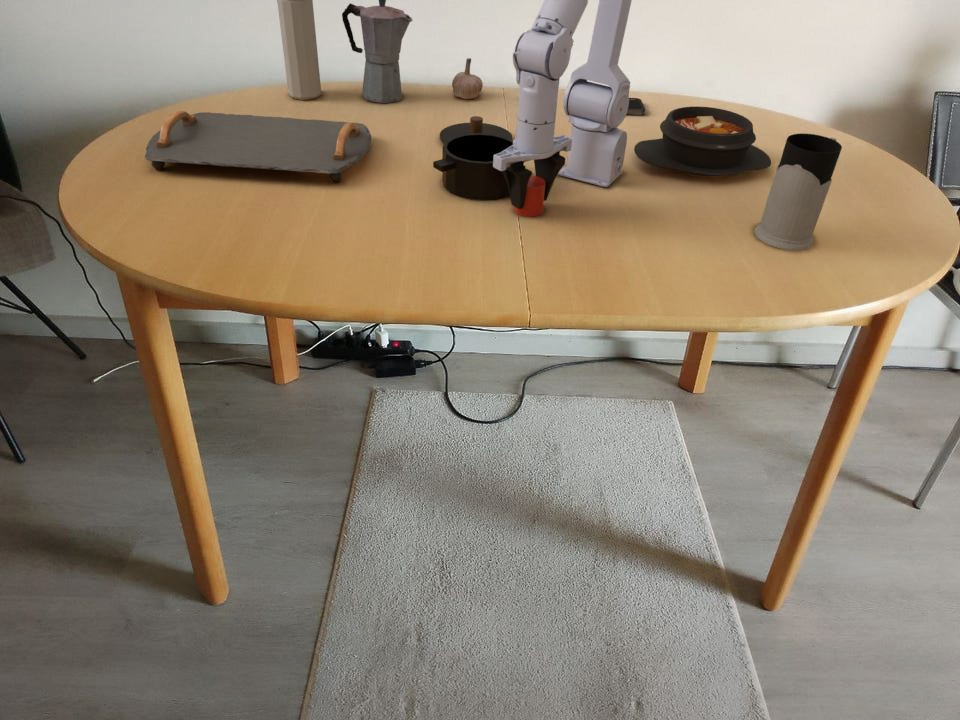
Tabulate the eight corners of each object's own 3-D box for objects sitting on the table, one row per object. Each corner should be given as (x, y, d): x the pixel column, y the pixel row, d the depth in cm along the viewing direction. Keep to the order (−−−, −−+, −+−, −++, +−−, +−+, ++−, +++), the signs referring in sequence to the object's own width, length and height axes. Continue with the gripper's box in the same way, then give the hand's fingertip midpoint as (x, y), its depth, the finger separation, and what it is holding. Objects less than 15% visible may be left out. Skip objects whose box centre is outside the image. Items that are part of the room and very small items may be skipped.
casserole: (643, 184, 127) (652, 137, 122) (623, 143, 142) (630, 100, 136) (783, 187, 128) (798, 140, 123) (749, 146, 143) (761, 104, 138)
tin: (547, 208, 118) (550, 179, 115) (534, 219, 115) (537, 190, 112) (522, 201, 120) (524, 172, 117) (509, 212, 116) (511, 182, 113)
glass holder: (744, 235, 113) (772, 142, 104) (783, 208, 121) (812, 118, 112) (799, 256, 108) (832, 159, 99) (835, 225, 117) (869, 134, 108)
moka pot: (408, 107, 153) (405, 4, 141) (339, 100, 156) (330, -2, 143) (420, 93, 161) (418, -6, 149) (353, 87, 163) (347, -12, 151)
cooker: (545, 184, 125) (549, 148, 121) (461, 211, 116) (462, 173, 112) (497, 159, 133) (499, 125, 129) (415, 183, 124) (414, 146, 120)
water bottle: (320, 102, 154) (307, -30, 139) (283, 100, 154) (266, -32, 139) (328, 88, 162) (316, -38, 146) (292, 86, 161) (277, -40, 146)
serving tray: (130, 172, 123) (120, 137, 119) (186, 124, 141) (179, 92, 137) (355, 189, 121) (353, 153, 117) (382, 138, 139) (381, 106, 135)
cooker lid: (526, 144, 139) (528, 122, 137) (469, 160, 132) (470, 137, 130) (481, 123, 148) (482, 101, 145) (425, 137, 141) (424, 114, 138)
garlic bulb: (470, 88, 165) (471, 51, 160) (491, 97, 161) (492, 59, 156) (443, 94, 161) (444, 56, 156) (464, 103, 157) (465, 65, 152)
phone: (572, 95, 160) (640, 98, 160) (571, 100, 161) (639, 103, 161) (575, 107, 154) (646, 110, 154) (574, 112, 154) (645, 115, 155)
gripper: (553, 101, 114) (545, 182, 122) (481, 119, 107) (478, 204, 115) (585, 114, 110) (575, 197, 118) (513, 134, 102) (507, 221, 111)
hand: (529, 202), depth 116 cm, fingers closed on tin, 4 cm apart
